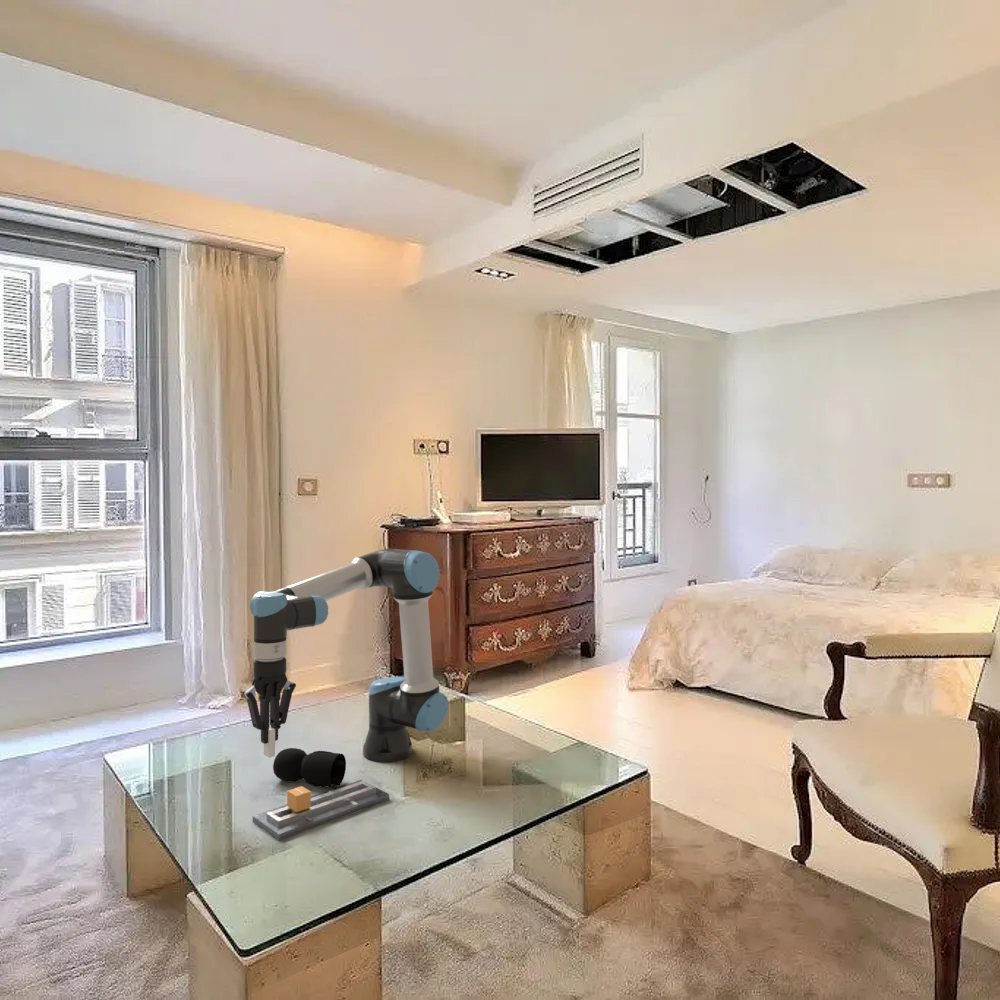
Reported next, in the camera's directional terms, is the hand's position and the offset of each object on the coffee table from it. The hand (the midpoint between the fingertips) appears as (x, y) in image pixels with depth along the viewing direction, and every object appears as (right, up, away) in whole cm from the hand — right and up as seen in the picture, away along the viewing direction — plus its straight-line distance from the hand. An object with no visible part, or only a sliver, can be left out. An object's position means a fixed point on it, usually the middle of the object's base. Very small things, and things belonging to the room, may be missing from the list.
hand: (269, 755), depth 177 cm
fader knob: (+5, -16, +6) cm, 18 cm away
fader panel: (+10, -18, +11) cm, 24 cm away
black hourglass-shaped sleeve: (+2, -18, +28) cm, 34 cm away
